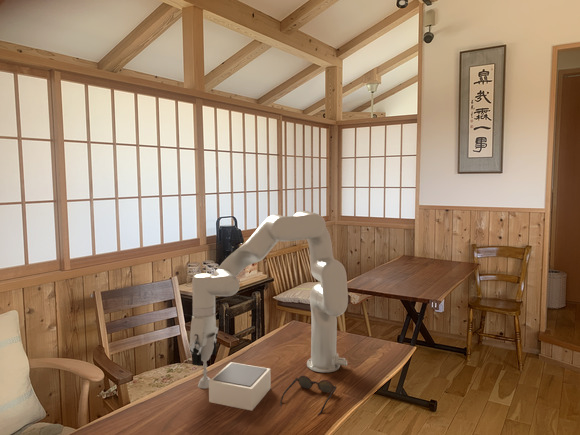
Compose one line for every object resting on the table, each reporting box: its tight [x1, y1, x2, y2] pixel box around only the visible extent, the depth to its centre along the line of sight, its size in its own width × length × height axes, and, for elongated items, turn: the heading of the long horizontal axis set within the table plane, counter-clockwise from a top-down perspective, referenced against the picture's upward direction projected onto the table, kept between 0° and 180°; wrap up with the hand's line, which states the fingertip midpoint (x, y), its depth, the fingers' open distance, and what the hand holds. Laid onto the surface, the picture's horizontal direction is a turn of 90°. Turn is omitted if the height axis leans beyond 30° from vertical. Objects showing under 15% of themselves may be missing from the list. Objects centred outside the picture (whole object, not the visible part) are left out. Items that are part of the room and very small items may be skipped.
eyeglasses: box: [279, 374, 337, 416], centre depth 143 cm, size 15×15×5 cm
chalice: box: [196, 332, 215, 390], centre depth 152 cm, size 7×7×18 cm
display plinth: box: [208, 361, 272, 411], centre depth 146 cm, size 15×15×7 cm
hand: (204, 359), depth 152 cm, fingers open, 9 cm apart
